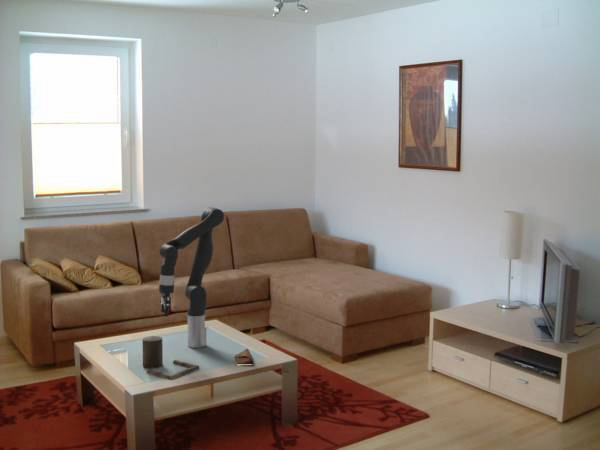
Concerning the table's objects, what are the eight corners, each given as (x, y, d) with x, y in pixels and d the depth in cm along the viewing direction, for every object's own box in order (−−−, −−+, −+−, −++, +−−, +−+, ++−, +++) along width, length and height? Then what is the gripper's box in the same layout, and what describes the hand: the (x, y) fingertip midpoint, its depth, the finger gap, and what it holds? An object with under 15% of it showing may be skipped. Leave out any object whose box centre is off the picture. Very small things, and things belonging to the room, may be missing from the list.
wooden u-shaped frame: (147, 372, 340) (147, 369, 339) (175, 362, 355) (175, 359, 355) (171, 379, 331) (171, 376, 331) (199, 368, 346) (199, 365, 346)
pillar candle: (156, 369, 345) (156, 339, 343) (138, 367, 348) (138, 337, 346) (166, 363, 354) (166, 334, 352) (149, 361, 357) (148, 332, 355)
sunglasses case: (232, 355, 368) (239, 344, 368) (244, 361, 369) (251, 350, 369) (236, 366, 350) (243, 354, 350) (248, 372, 352) (255, 361, 352)
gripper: (176, 286, 363) (174, 317, 365) (171, 280, 377) (169, 311, 378) (161, 285, 361) (159, 317, 362) (157, 280, 374) (155, 311, 375)
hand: (164, 314), depth 370 cm, fingers open, 8 cm apart
